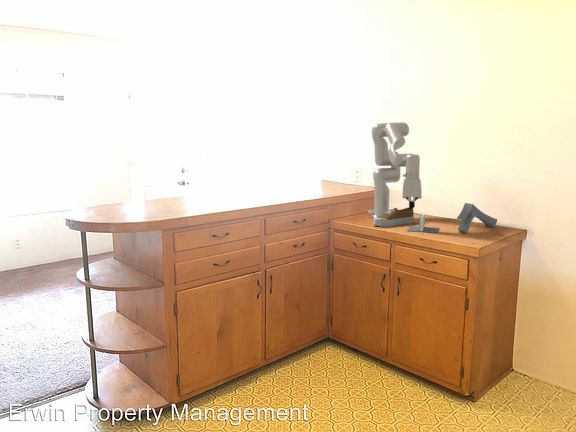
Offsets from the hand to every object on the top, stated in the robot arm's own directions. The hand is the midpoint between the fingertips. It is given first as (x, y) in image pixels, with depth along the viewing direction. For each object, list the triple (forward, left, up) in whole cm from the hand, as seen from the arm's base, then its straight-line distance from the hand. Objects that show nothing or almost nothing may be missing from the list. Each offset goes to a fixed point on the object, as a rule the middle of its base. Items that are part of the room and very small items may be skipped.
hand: (411, 208), depth 280 cm
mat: (+7, 0, -12) cm, 14 cm away
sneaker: (-12, +12, -13) cm, 21 cm away
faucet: (+35, +8, -12) cm, 38 cm away
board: (+6, 0, -12) cm, 13 cm away
